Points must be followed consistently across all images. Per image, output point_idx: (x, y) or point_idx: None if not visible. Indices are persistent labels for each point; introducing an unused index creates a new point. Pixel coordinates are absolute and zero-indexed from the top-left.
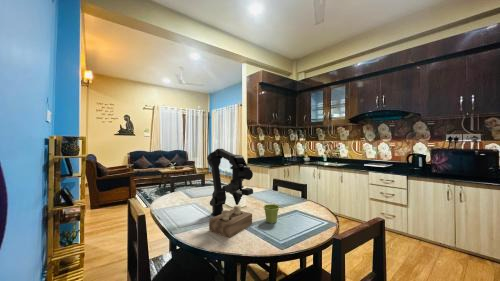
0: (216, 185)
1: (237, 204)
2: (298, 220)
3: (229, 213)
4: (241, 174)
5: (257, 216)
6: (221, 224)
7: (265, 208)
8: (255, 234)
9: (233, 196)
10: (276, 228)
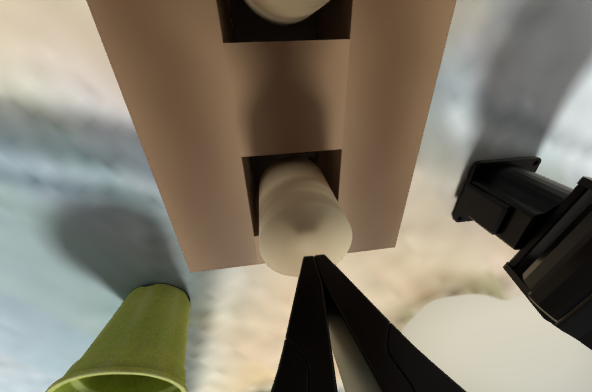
0: None
1: (302, 266)
2: None
3: (362, 153)
4: None
5: (265, 297)
6: None
7: (116, 371)
8: (30, 106)
9: (441, 390)
10: (49, 261)
